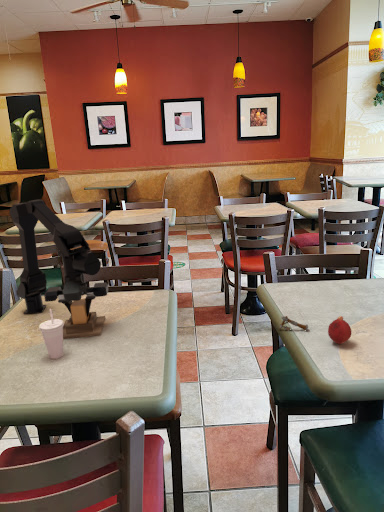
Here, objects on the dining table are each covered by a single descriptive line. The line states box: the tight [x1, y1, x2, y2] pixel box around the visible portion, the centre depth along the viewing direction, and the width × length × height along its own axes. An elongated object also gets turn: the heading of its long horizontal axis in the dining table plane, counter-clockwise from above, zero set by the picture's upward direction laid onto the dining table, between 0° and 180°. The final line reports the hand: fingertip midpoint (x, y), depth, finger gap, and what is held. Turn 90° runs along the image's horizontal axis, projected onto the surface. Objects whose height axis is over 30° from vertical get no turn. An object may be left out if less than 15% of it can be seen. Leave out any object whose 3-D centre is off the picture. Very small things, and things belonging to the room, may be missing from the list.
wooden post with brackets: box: [278, 315, 309, 331], centre depth 115 cm, size 2×8×4 cm, turn 80°
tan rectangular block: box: [70, 298, 89, 325], centre depth 125 cm, size 6×4×7 cm, turn 6°
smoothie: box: [38, 308, 64, 360], centre depth 108 cm, size 6×6×14 cm
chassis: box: [63, 311, 106, 340], centre depth 126 cm, size 13×13×3 cm
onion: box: [327, 315, 352, 345], centre depth 105 cm, size 6×6×8 cm
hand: (80, 316), depth 125 cm, fingers closed on tan rectangular block, 4 cm apart
